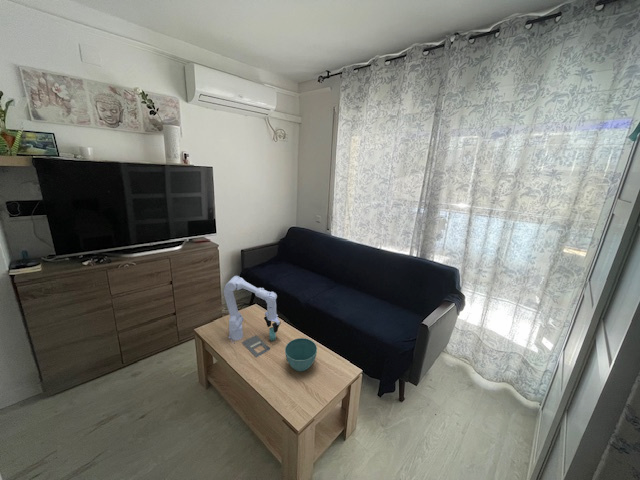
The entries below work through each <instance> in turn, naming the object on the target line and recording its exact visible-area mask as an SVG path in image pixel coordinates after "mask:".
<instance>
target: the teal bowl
mask: <svg viewBox="0 0 640 480" xmlns="http://www.w3.org/2000/svg"><path fill="white" fill-rule="evenodd" d="M284 353H285V357H286V360H287V362H288V364H289V366H290V367H291V368H292V369H293V370H295V371H296V372H305V371H306V370H308V369H309V368H310V367H312V365H313V364H314V362H315V359H316V357H317V353H318V346H317V344H316V343H315V342H314V341H313V340H312V339H309V338H304V337H300V338H294V339H292V340H290V341H289V342H288V343H287V344H286V345H285V349H284Z"/></svg>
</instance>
